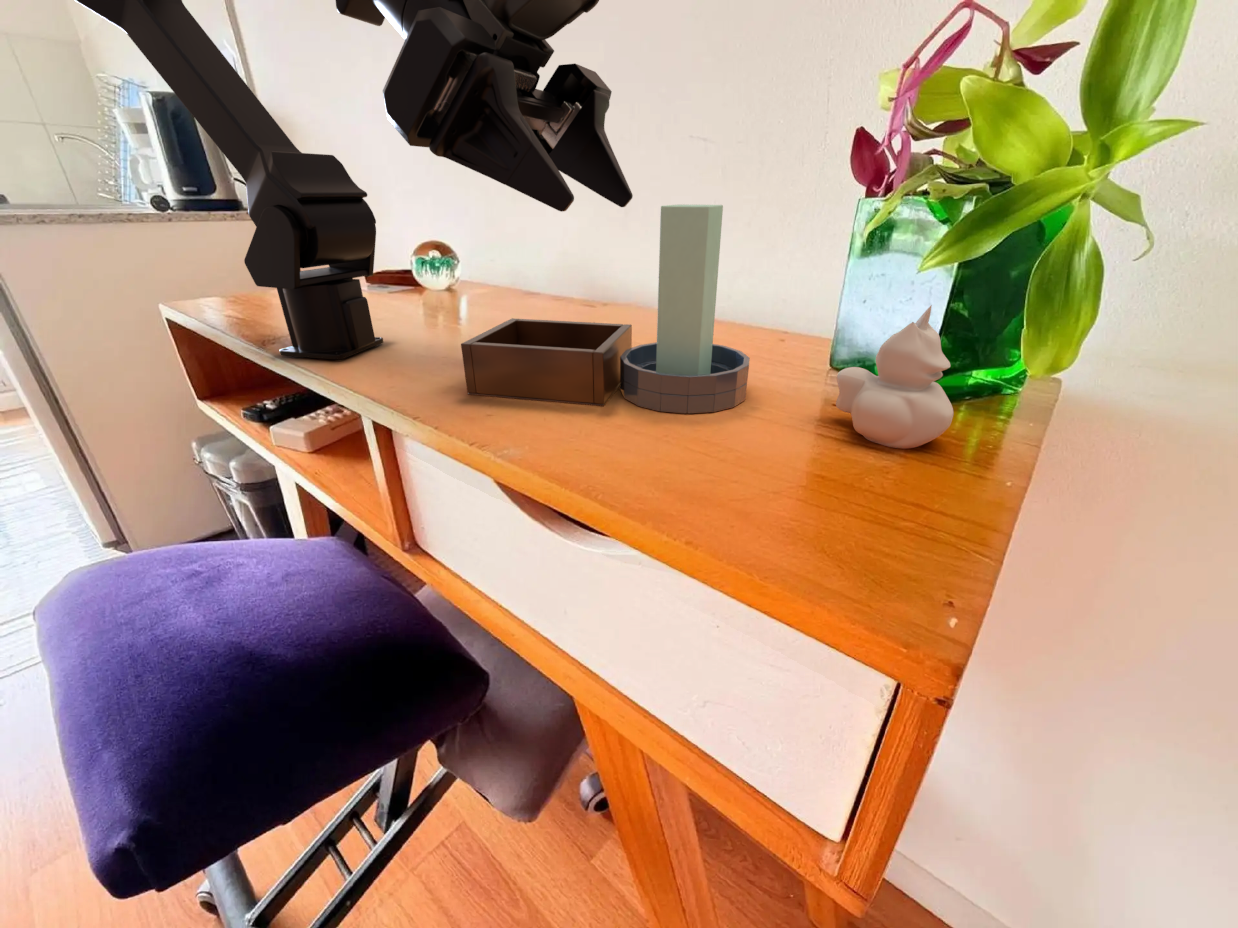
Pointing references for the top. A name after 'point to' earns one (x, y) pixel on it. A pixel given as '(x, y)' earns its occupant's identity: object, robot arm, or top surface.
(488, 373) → the holder
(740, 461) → the top surface
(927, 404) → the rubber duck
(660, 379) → the bowl
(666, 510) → the top surface
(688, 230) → the tall sage green pillar
